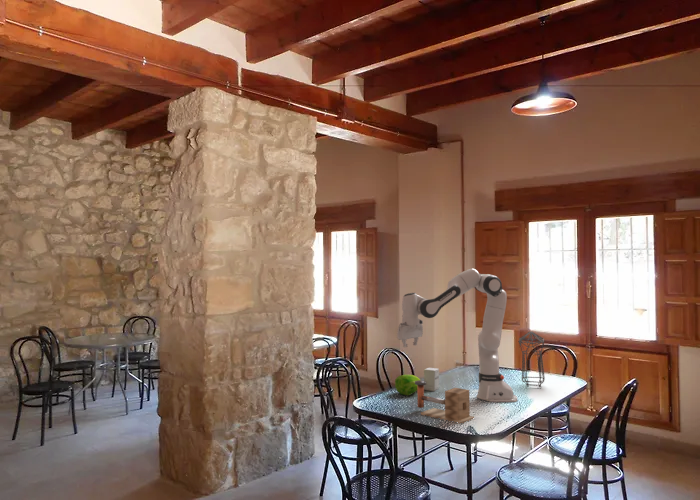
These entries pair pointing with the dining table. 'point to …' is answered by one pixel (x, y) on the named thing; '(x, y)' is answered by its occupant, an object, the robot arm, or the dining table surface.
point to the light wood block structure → (453, 407)
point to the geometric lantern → (537, 355)
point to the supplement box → (431, 379)
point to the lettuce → (406, 384)
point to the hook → (421, 396)
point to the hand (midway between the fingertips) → (410, 346)
